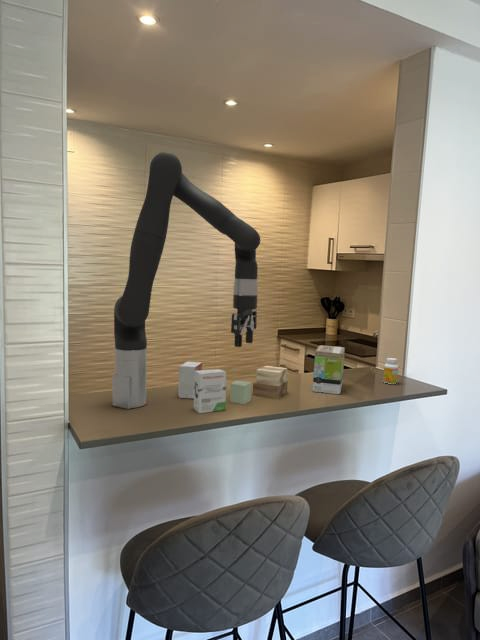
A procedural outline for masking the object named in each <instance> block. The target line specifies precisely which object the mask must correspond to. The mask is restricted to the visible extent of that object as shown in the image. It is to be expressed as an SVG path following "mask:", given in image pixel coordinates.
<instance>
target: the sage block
mask: <svg viewBox="0 0 480 640" xmlns="http://www.w3.org/2000/svg"><path fill="white" fill-rule="evenodd" d="M229 393H230V394H229V402H230V403H234V404H239V405H240V404H241V405H246V404H247V403H248V402H250V401H251V400H252V382H251V381H246V380H238V379H237V380H235V381H233V382H231V383H230V391H229Z"/></svg>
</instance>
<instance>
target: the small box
mask: <svg viewBox="0 0 480 640" xmlns="http://www.w3.org/2000/svg"><path fill="white" fill-rule="evenodd" d="M200 370H203V363H202V362H199V361H185V362H183V363H182V364H180V365H178V398H179V399H180V398H181V399H182V398H183V399H192V400H194V371H200Z"/></svg>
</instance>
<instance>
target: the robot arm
mask: <svg viewBox="0 0 480 640" xmlns="http://www.w3.org/2000/svg"><path fill="white" fill-rule="evenodd" d="M181 163H182V162H181V161H180V159H179V157H178V156H177V155H176V154H175V153H174V152H170V151H168V150H167V151H161V152H159V153H157V154H156V155H154V156H153V158H152V160H151V161H150V165H149V175H148V183H147V187H146V188H147V189H146V195H145V198H144V201H143V204H142V207H141V209H140V211H139V215H138V218H137V221H136V225H135V229H134V231H133V236H132V240H131V244H130V252H129V264H128V276H127V280H126V284H125V288H124V291H123V293H122V295H121V296H120V297H119V298H118V299H117V300H116V302H115V304H114V309H113V328H114V329H113V334H114V337H113V338H114V374H113V375H112V406H113V407H118V408H122V409H127V410H129V409H134V408H141V407H143V406H145V405H146V404H147V356H148V355H147V352H148V351H147V349H148V348H147V346H148V344H147V342H148V340H147V333H146V320H148V319H147V318H148V316H149V314H150V308H151V307H150V306H151V297H152V293H153V291H152V290H153V286H154V280H155V279H156V278H155V277H156V274H157V272H158V268H159V266H160V263H161V259H162V255H163V252H164V251H163V250H164V248H165V244H166V239H167V233H168V228H169V221H170V220H169V219H170V212H171V211H170V210H171V203H172V200H173V197H175V198H176V199H178V200H180V201H181V202H182V203H184V204H185V205H186V206H188V207H189V208H191V209H192V210H193V211H194V212H195V213H196V214H198V215H199V216H200V217H201V219H203V220H205V221H206V222H207V223H208V224H210V225H211V226H212V228H214V229H215V230H217V231H218V232H219V233H220V234H222V235H225V236H226V237H228V238H229V239H230V240H232V242H234V258H235V267H234V282H233V297H232V300H233V301H232V302H233V303H232V308H233V309H236V310H237V312H236V313H233V312H232V313H231V325H230V326H231V327H230V333H232V334H233V335H234V347H235V348H242V347H243V332H244V330H245V343H246V344H253V340H254V331H255V330H257V317H258V315H257V314H258V312H257V309H258V292H259V291H258V290H259V287H258V271H259V270H258V263H257V257H256V256H257V249H258V247H259V246H260V244H261V236H260V233H259V232H258V231H257V230H256V229H255V227H252V226H251V225H250V224H248V223H247V222H246V221H244V220H243V219H241V218H239V217H238V216H237V215H235V213H234V212H233V211H231V210H230V209H229V208H228V207H226V206H225V204H223V203H222V202H220V201H219V200H218V199H216V198H215V197H213V196H212V195H210V194H209V193H206V192H205V191H203V190H202V189H200V188H199V187H198V186H197V185H195V184H194V183H193V182H191V180H189V179H188V177H186V175H185V174H184V173H183V167H182V164H181Z"/></svg>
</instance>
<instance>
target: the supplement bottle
mask: <svg viewBox="0 0 480 640" xmlns="http://www.w3.org/2000/svg"><path fill="white" fill-rule="evenodd" d="M385 361H386V363H385V364H383V378H382V383H383V382H384V383H383V384H385V383H388V384H396V383H397V384H398V381H399V365H398V358H395V357H387V358H386V360H385ZM388 384H387V385H388ZM397 384H396V385H397Z"/></svg>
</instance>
